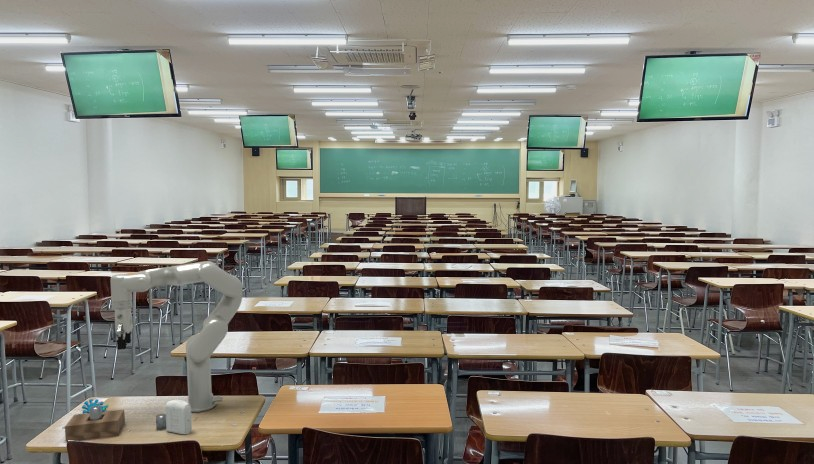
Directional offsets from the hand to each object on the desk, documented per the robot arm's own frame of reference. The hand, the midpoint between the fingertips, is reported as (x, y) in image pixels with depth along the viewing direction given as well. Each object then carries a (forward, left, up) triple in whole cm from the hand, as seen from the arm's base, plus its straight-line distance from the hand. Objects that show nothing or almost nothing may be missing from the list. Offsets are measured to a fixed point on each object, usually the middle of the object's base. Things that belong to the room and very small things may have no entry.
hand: (124, 346), depth 234 cm
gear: (+13, -5, -31) cm, 34 cm away
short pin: (-15, +15, -30) cm, 37 cm away
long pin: (+9, +12, -30) cm, 34 cm away
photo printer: (-22, +21, -31) cm, 43 cm away
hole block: (+9, +12, -30) cm, 34 cm away
